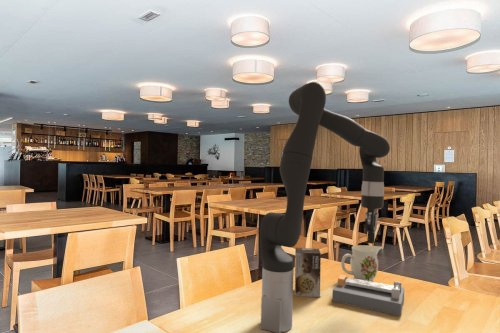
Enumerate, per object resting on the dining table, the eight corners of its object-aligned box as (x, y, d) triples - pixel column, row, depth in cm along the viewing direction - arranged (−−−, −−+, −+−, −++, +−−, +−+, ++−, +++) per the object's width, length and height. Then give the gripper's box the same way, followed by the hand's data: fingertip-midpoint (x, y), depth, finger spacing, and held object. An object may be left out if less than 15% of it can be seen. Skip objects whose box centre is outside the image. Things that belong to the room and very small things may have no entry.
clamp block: (400, 316, 109) (401, 294, 108) (332, 301, 119) (332, 281, 119) (404, 298, 123) (404, 279, 123) (342, 286, 133) (343, 268, 133)
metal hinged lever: (398, 295, 114) (398, 290, 114) (344, 285, 122) (344, 280, 122) (400, 290, 119) (400, 285, 119) (348, 280, 127) (348, 276, 127)
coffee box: (318, 290, 128) (319, 248, 128) (320, 297, 122) (321, 253, 121) (294, 289, 129) (295, 247, 129) (294, 296, 123) (295, 251, 122)
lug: (343, 286, 123) (343, 279, 122) (337, 285, 123) (338, 278, 123) (346, 282, 127) (346, 275, 127) (341, 281, 128) (341, 274, 128)
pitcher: (335, 276, 145) (336, 244, 145) (374, 274, 148) (375, 243, 148) (346, 285, 134) (348, 251, 134) (388, 283, 137) (389, 250, 137)
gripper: (381, 196, 112) (379, 248, 113) (386, 193, 124) (384, 240, 124) (358, 194, 116) (356, 245, 116) (364, 192, 128) (363, 238, 128)
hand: (370, 242), depth 120 cm, fingers closed
